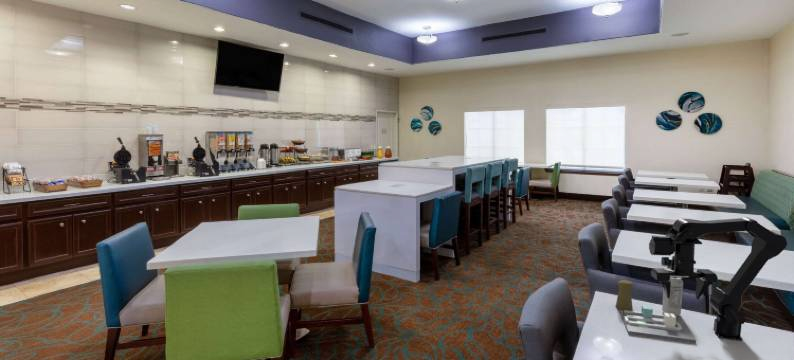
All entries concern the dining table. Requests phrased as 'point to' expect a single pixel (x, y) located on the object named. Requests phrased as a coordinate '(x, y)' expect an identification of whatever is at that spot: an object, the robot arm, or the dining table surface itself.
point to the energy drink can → (673, 297)
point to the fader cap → (669, 320)
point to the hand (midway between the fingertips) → (682, 298)
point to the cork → (624, 295)
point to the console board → (655, 326)
